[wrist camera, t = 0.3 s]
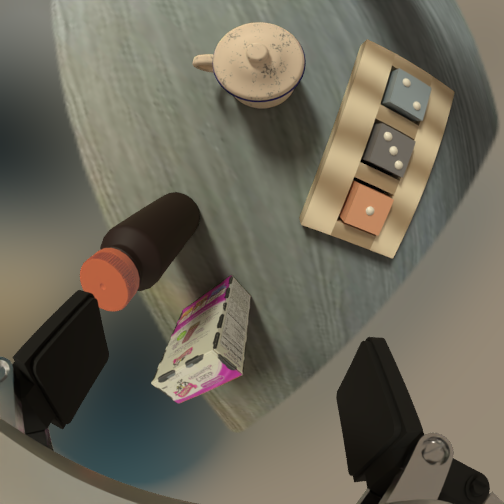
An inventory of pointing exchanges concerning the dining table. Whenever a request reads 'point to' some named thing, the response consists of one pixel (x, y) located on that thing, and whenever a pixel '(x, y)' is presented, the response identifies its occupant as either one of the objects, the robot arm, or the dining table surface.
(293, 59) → the teacup with lid
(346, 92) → the wooden puzzle board
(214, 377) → the candy bar box
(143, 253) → the bottle
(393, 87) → the key two
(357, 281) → the dining table surface
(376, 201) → the key one
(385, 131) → the key three
